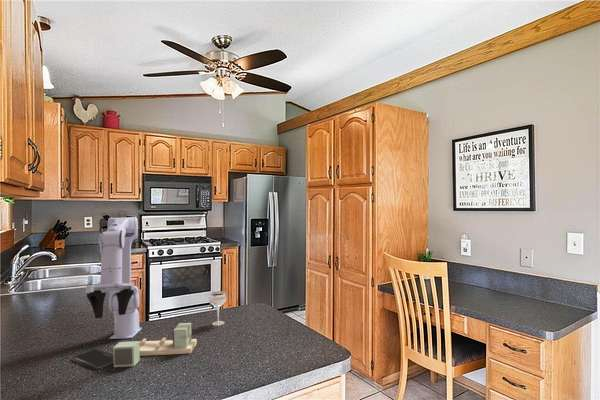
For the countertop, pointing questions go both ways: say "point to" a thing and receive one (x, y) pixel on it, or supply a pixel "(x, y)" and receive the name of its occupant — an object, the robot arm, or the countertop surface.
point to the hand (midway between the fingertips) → (110, 316)
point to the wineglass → (217, 303)
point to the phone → (95, 359)
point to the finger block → (126, 354)
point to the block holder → (170, 343)
